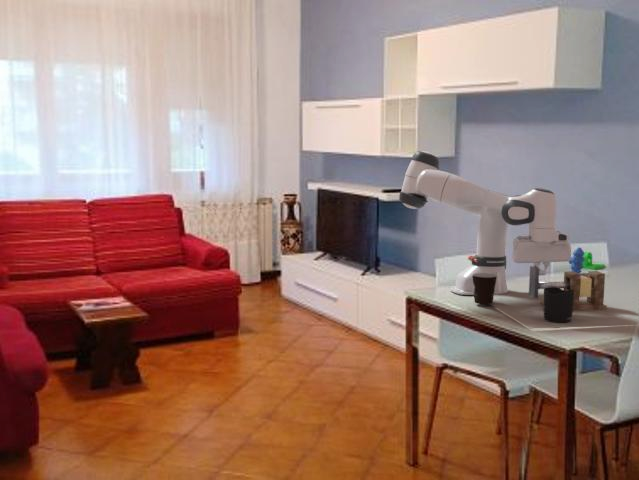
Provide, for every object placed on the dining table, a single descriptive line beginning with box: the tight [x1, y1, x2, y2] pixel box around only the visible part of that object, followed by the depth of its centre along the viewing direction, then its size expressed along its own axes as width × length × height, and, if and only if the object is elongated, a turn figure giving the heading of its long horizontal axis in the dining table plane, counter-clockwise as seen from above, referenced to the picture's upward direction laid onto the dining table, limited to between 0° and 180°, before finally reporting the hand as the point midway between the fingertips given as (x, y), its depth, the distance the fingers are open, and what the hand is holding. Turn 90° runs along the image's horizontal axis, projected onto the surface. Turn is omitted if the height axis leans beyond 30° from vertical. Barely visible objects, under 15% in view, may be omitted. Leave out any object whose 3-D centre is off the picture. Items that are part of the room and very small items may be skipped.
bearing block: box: [540, 270, 608, 311], centre depth 253 cm, size 20×9×12 cm, turn 97°
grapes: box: [567, 247, 585, 274], centre depth 316 cm, size 12×7×12 cm, turn 142°
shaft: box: [528, 265, 570, 299], centre depth 251 cm, size 20×5×10 cm, turn 97°
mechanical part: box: [582, 251, 605, 271], centre depth 331 cm, size 12×6×8 cm, turn 133°
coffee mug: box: [472, 273, 497, 305], centre depth 261 cm, size 12×9×10 cm
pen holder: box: [543, 287, 574, 324], centre depth 234 cm, size 9×9×10 cm
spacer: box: [579, 275, 592, 298], centre depth 253 cm, size 4×6×6 cm, turn 7°
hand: (541, 274), depth 250 cm, fingers closed
